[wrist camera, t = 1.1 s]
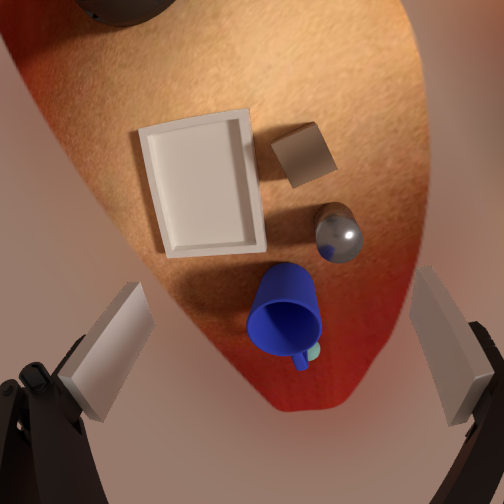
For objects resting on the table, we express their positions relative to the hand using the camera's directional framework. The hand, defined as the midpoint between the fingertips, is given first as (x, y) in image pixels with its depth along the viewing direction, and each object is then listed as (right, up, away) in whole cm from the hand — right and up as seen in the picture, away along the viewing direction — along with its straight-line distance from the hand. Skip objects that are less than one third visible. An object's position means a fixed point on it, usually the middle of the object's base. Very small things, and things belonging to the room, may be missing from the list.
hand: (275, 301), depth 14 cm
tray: (-7, +10, +23) cm, 26 cm away
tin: (+9, +6, +23) cm, 26 cm away
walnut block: (+5, +14, +20) cm, 25 cm away
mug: (+4, -3, +29) cm, 29 cm away
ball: (+7, -11, +32) cm, 35 cm away
